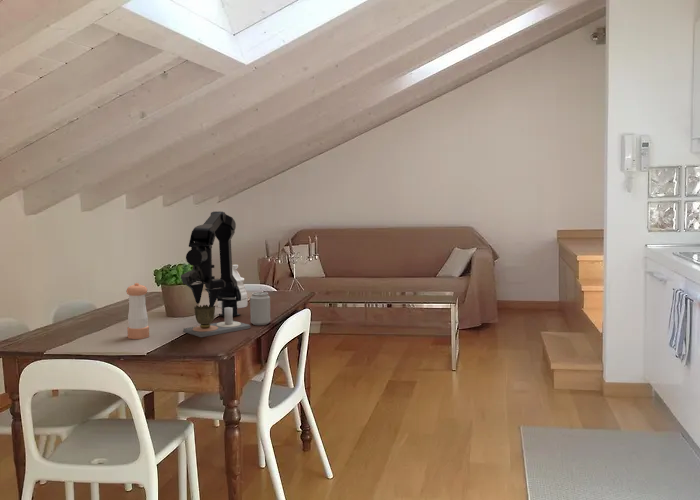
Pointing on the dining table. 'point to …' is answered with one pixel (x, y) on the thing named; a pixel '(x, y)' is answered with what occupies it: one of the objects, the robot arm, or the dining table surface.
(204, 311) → the decorative vase
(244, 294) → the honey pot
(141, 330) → the pepper shaker
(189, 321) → the dining table surface
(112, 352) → the dining table surface
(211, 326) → the board
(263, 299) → the can
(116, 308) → the dining table surface
